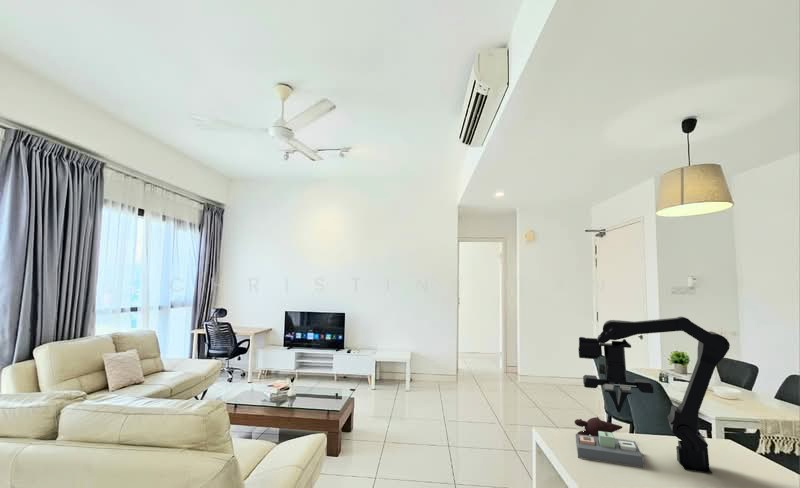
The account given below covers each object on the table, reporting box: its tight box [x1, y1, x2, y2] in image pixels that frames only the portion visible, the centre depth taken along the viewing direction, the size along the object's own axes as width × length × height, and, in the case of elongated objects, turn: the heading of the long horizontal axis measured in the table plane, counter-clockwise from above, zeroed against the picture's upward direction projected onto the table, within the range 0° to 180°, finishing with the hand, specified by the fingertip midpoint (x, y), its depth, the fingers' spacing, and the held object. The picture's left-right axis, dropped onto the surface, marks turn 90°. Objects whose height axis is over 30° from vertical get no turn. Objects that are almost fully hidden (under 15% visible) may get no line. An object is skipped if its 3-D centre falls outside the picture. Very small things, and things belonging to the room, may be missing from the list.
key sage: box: [598, 431, 616, 448], centre depth 116 cm, size 4×4×4 cm
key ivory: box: [619, 441, 636, 451], centre depth 114 cm, size 4×4×4 cm
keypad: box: [575, 433, 645, 468], centre depth 116 cm, size 17×11×3 cm, turn 68°
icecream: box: [574, 416, 623, 437], centre depth 128 cm, size 7×7×15 cm
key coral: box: [580, 436, 595, 446], centre depth 118 cm, size 4×4×4 cm
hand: (618, 411), depth 117 cm, fingers closed
